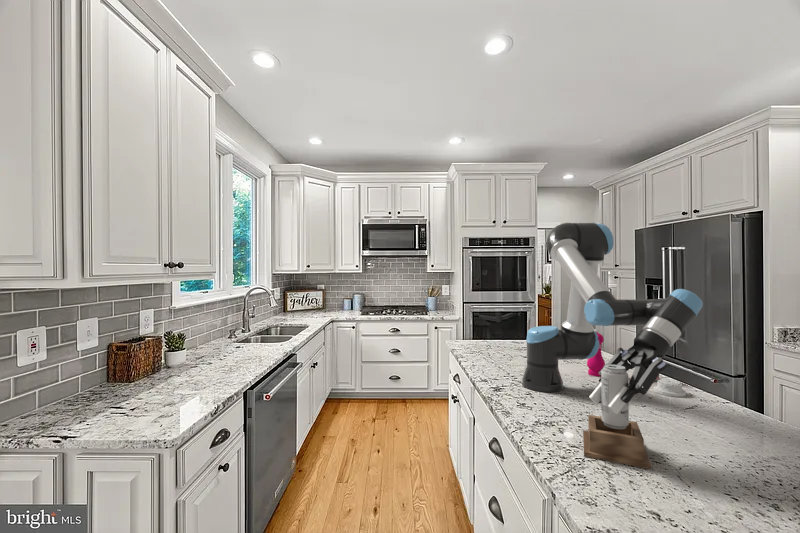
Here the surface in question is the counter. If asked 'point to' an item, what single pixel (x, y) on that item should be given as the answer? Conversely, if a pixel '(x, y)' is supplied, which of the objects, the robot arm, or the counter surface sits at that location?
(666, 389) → the mechanical component
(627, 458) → the walnut socket
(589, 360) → the pepper mill
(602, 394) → the energy drink can
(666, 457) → the counter surface
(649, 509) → the counter surface
